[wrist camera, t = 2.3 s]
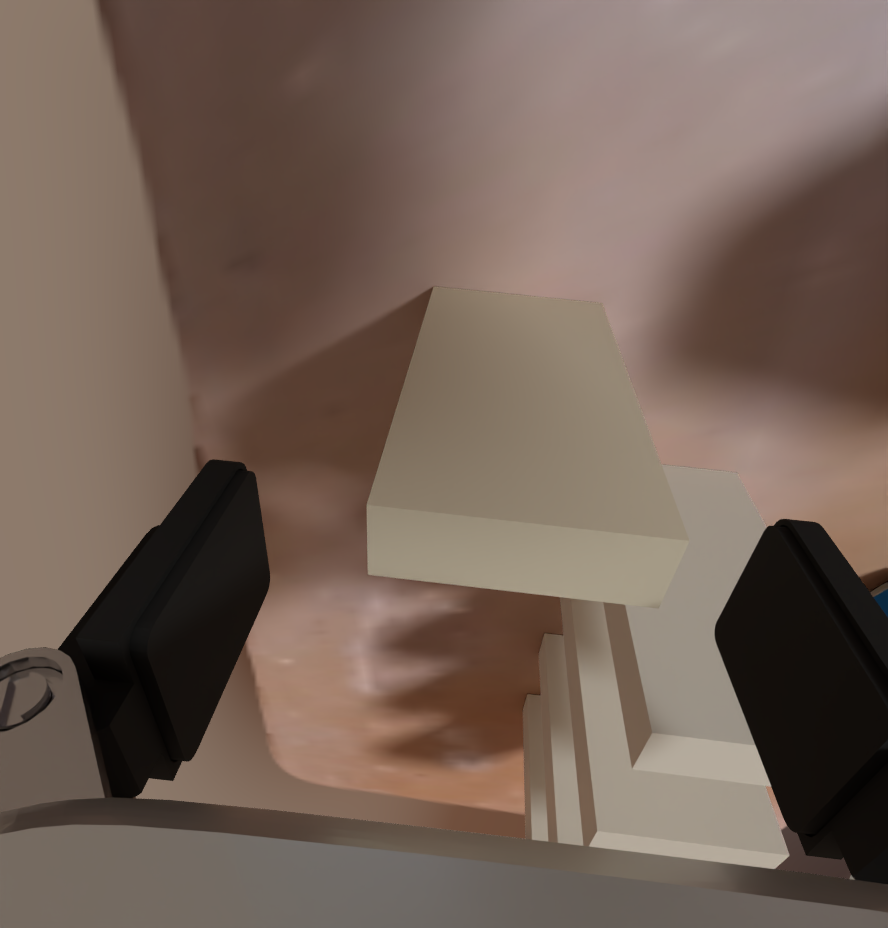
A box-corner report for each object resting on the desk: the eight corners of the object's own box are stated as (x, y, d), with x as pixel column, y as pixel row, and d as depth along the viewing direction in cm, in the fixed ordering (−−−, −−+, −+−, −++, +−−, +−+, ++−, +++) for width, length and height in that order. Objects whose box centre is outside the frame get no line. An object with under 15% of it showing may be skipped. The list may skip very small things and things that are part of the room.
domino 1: (433, 286, 17) (366, 505, 9) (602, 303, 17) (689, 540, 9) (430, 336, 18) (367, 574, 10) (590, 352, 18) (658, 608, 10)
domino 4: (593, 457, 20) (652, 732, 12) (737, 472, 20) (894, 762, 12) (584, 491, 21) (632, 769, 13) (720, 507, 21) (855, 797, 13)
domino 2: (527, 693, 29) (535, 942, 21) (625, 705, 29) (671, 960, 21) (522, 710, 30) (528, 954, 22) (617, 722, 30) (658, 971, 22)
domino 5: (565, 556, 23) (597, 830, 15) (690, 570, 23) (789, 855, 15) (558, 583, 24) (584, 854, 16) (677, 596, 24) (764, 877, 16)
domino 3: (544, 633, 26) (561, 895, 18) (654, 645, 26) (720, 916, 18) (538, 654, 27) (552, 912, 19) (644, 666, 27) (703, 932, 19)
